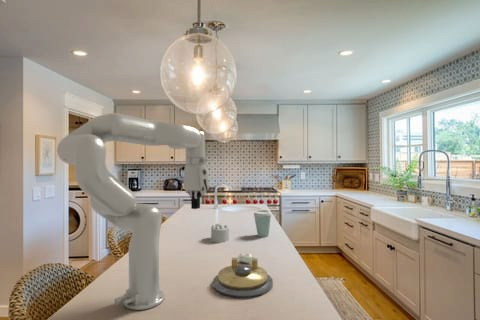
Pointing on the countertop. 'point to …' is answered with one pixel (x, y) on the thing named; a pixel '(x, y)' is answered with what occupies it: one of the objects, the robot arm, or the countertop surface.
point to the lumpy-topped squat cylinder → (220, 233)
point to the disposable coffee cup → (262, 222)
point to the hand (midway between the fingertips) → (195, 208)
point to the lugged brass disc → (242, 276)
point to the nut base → (243, 294)
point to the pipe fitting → (245, 258)
